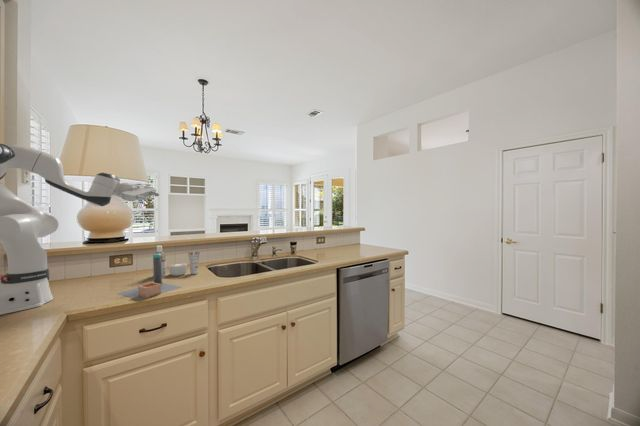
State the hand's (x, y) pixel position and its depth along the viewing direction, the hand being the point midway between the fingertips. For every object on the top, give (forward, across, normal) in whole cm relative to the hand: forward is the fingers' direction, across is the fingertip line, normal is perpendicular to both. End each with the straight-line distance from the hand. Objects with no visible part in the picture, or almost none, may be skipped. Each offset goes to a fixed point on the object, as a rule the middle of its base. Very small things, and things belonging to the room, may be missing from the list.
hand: (152, 196), depth 147 cm
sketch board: (+25, -36, +35) cm, 56 cm away
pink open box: (+29, -41, +32) cm, 59 cm away
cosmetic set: (+22, -8, +44) cm, 50 cm away
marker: (+23, -27, +37) cm, 51 cm away
